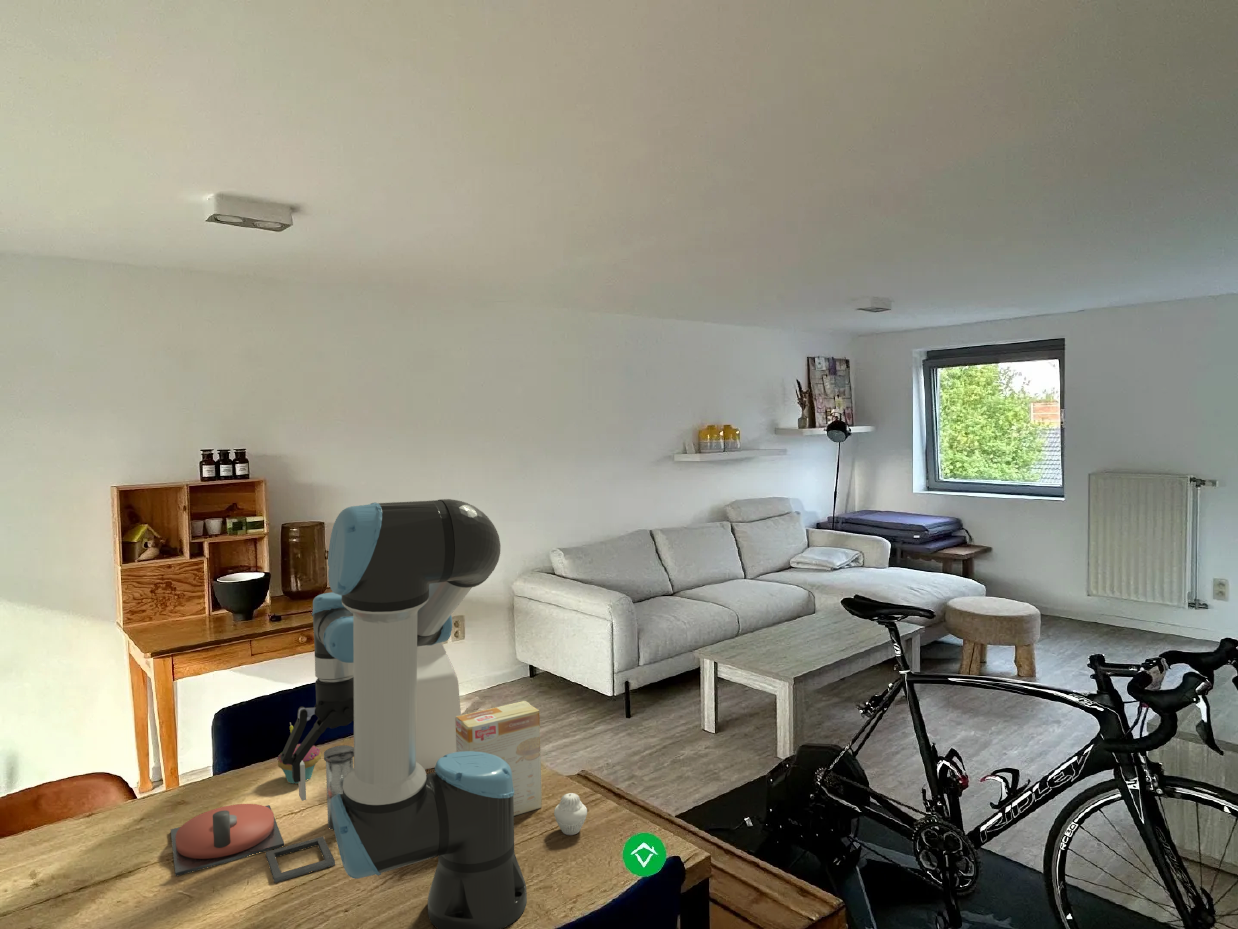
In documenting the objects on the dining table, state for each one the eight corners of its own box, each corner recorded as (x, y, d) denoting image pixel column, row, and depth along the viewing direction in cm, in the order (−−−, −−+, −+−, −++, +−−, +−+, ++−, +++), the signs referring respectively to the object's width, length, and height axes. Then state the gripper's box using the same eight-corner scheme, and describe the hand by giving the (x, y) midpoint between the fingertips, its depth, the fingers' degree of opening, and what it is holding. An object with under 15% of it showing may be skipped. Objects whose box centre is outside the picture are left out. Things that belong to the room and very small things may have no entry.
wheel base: (284, 846, 141) (284, 843, 141) (175, 876, 132) (175, 873, 132) (269, 808, 156) (269, 805, 156) (170, 832, 147) (170, 829, 147)
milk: (410, 772, 171) (407, 654, 169) (398, 753, 181) (394, 641, 179) (464, 760, 176) (461, 645, 175) (449, 742, 186) (446, 634, 185)
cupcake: (269, 785, 166) (267, 728, 165) (296, 767, 174) (294, 714, 173) (303, 790, 163) (301, 733, 163) (330, 772, 171) (328, 718, 171)
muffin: (547, 834, 144) (546, 797, 144) (566, 819, 150) (565, 783, 149) (575, 843, 141) (575, 804, 141) (594, 827, 146) (593, 790, 146)
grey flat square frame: (335, 865, 135) (335, 860, 135) (274, 883, 130) (274, 878, 130) (323, 840, 143) (323, 836, 143) (265, 856, 138) (265, 852, 138)
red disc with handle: (182, 823, 148) (181, 786, 148) (275, 806, 154) (274, 771, 154) (169, 868, 133) (167, 827, 133) (272, 847, 139) (271, 808, 139)
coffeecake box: (527, 794, 160) (525, 699, 159) (543, 808, 154) (541, 710, 153) (456, 814, 152) (454, 715, 151) (470, 830, 146) (468, 727, 145)
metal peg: (359, 826, 148) (357, 753, 147) (329, 834, 145) (327, 759, 145) (352, 814, 153) (350, 743, 152) (323, 821, 150) (321, 749, 149)
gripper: (397, 660, 157) (401, 765, 158) (261, 683, 144) (265, 798, 145) (409, 669, 151) (412, 778, 152) (267, 694, 138) (272, 814, 138)
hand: (341, 788), depth 148 cm, fingers open, 13 cm apart
